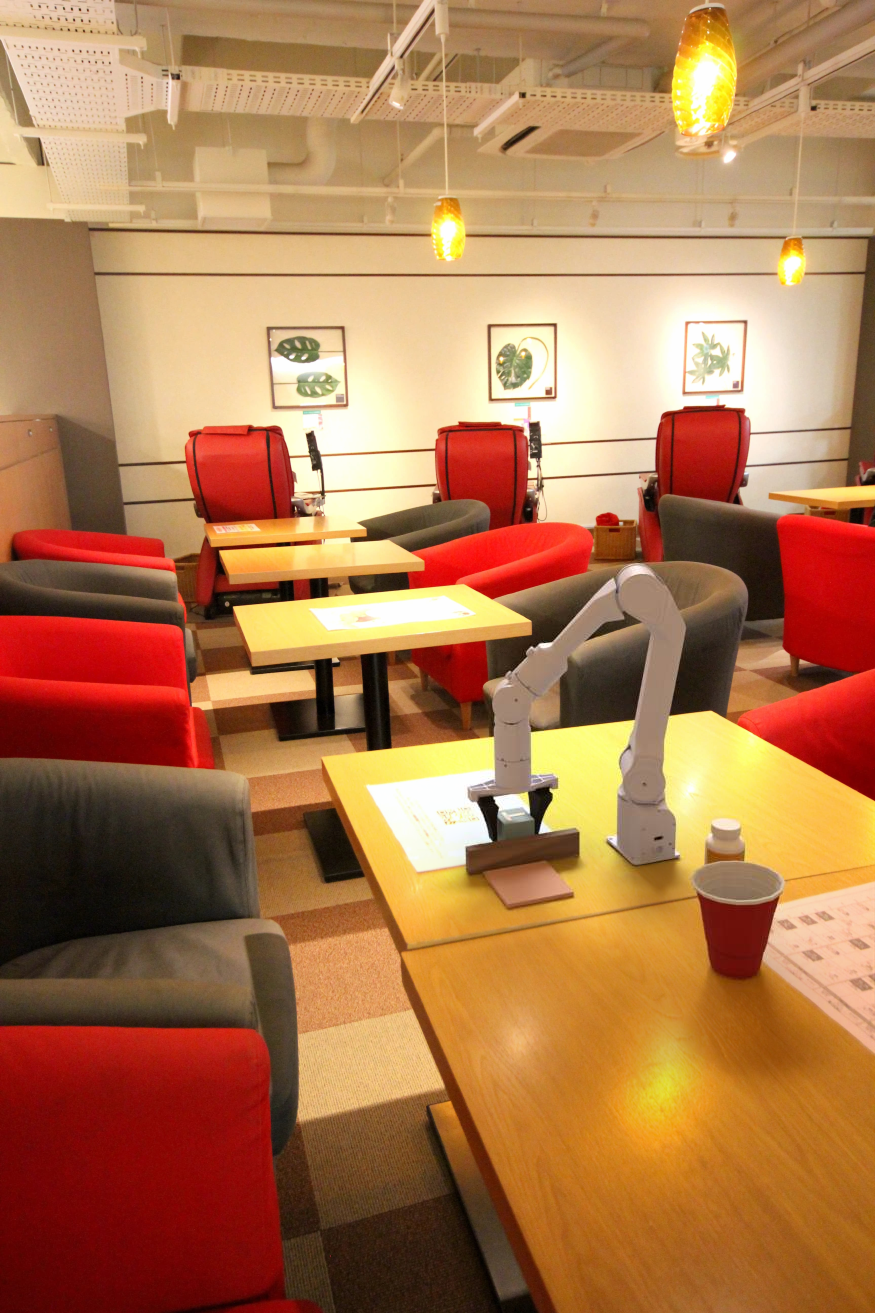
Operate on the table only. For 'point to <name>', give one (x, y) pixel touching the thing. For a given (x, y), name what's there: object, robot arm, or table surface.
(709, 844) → the supplement bottle
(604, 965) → the table surface
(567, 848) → the walnut plank
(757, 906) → the plastic cup
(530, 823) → the lettered cube
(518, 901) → the terracotta tile
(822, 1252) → the table surface
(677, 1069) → the table surface
